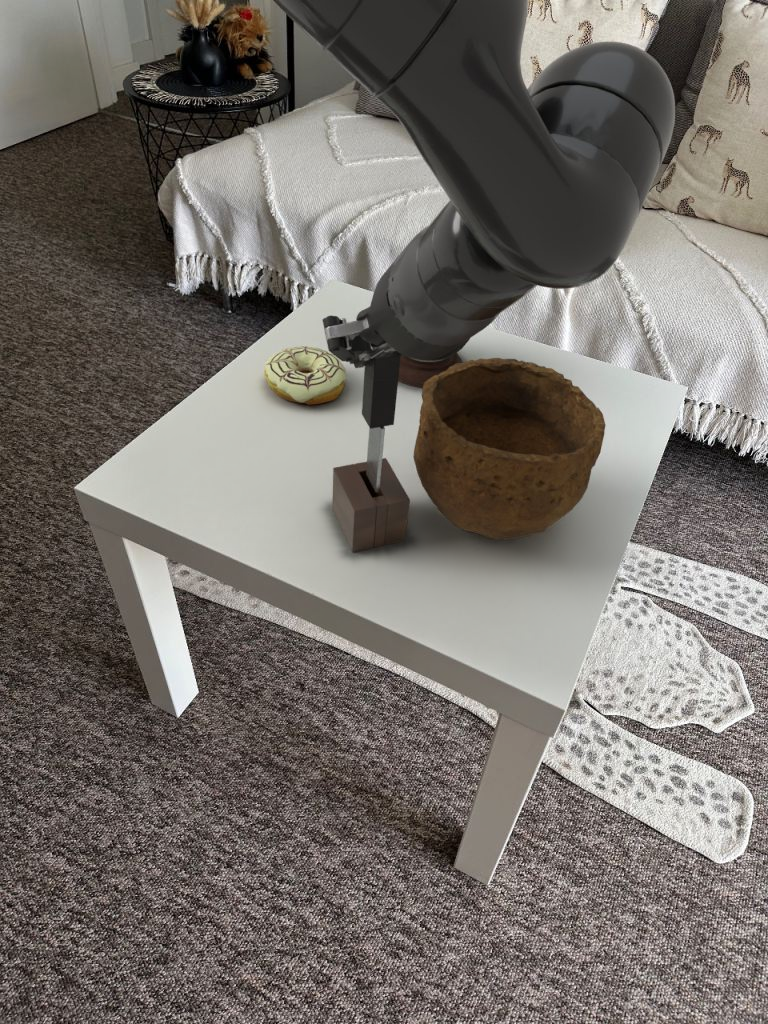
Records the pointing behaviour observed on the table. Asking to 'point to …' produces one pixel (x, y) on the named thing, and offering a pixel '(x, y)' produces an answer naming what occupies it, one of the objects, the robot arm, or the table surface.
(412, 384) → the black ball on stand
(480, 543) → the table surface
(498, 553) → the table surface
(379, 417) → the knife
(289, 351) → the decorated donut
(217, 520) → the table surface
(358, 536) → the knife block
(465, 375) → the bowl
